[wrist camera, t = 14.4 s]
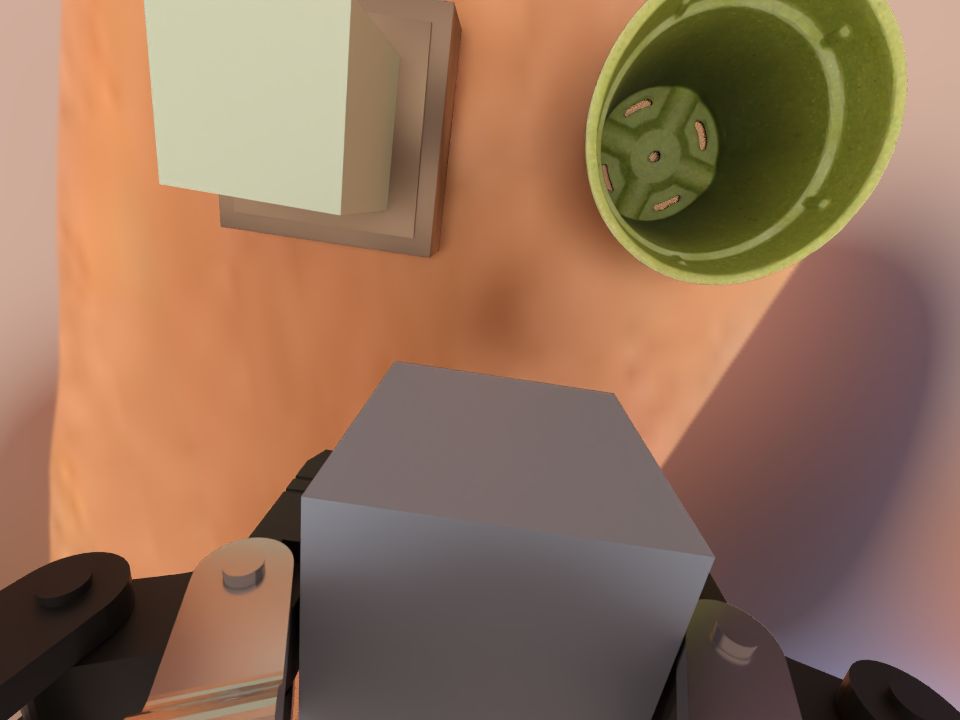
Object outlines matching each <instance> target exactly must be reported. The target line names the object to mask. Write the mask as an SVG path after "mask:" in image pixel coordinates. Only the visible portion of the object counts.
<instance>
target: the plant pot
mask: <svg viewBox="0 0 960 720" xmlns="http://www.w3.org/2000/svg"><path fill="white" fill-rule="evenodd" d="M907 82H908V81H907V72H906V56H905V49H904V44H903V39H902V34H901V31H900V28H899V25H898V22H897V20H896V17H895V14H894V12H893V10H892V9H891V7H890V5H889V3H888V1H887V0H647V1H646V2H645V3H644V4H643V5H642V6H641V7H640V9H639V10H638V11H637V12H636V13H635V15H634V16H633V17H632V19H631V20H630V21H629V22H628V24H627V25H626V27H625V28H624V30H623V31H622V33H621V34H620V36H619V37H618V39H617V40H616V42H615V44H614V46H613V47H612V49H611V51H610V53H609V55H608V57H607V59H606V61H605V63H604V65H603V67H602V70H601V72H600V74H599V77H598V80H597V82H596V85H595V88H594V91H593V95H592V98H591V102H590V106H589V110H588V116H587V122H586V131H585V162H586V170H587V176H588V182H589V186H590V190H591V194H592V196H593V199H594V202H595V205H596V207H597V209H598V211H599V214H600V216H601V217H602V219H603V221H604V223H605V224H606V226H607V227H608V229H609V230H610V232H611V233H612V235H613V236H614V237H615V238H616V240H617V241H618V242H619V243H620V244H621V245H622V246H623V247H624V248H625V249H626V250H627V251H628V252H629V253H630V254H631V255H632V256H634V257H635V258H636V259H637V260H639V261H640V262H641V263H643V264H644V265H646V266H647V267H649V268H651V269H653V270H655V271H657V272H659V273H661V274H663V275H665V276H668V277H671V278H673V279H676V280H680V281H683V282H688V283H695V284H703V285H728V284H737V283H743V282H748V281H752V280H756V279H759V278H762V277H765V276H767V275H770V274H773V273H776V272H778V271H781V270H783V269H785V268H787V267H789V266H791V265H793V264H795V263H797V262H799V261H800V260H802V259H804V258H805V257H807V256H808V255H810V254H811V253H813V252H814V251H816V250H817V249H819V248H820V247H822V246H823V245H824V244H825V243H827V242H828V241H829V240H830V239H832V238H833V237H834V236H835V235H836V234H837V233H839V232H840V231H841V230H842V229H843V228H844V227H845V225H846V224H847V223H848V222H849V221H850V220H851V218H852V217H853V216H854V215H855V214H856V213H857V212H858V211H859V209H860V208H861V207H862V205H863V204H864V203H865V202H866V200H867V199H868V198H869V197H870V195H871V193H872V192H873V190H874V189H875V187H876V186H877V184H878V182H879V180H880V179H881V177H882V175H883V173H884V171H885V169H886V167H887V165H888V163H889V161H890V159H891V156H892V154H893V152H894V149H895V146H896V143H897V140H898V137H899V134H900V130H901V127H902V121H903V117H904V112H905V106H906V96H907ZM645 99H648V100H651V101H652V105H651V106H648V107H646V108H643V109H640V110H638V111H636V112H634V113H632V114H631V115H629V116H628V117H625V116H624V115H625V112H626V109H628V108H629V107H631V106H632V105H634V104H636V103H638V102H640V101H641V100H645ZM697 120H698V121H701V123H702V124H703V125H704V127H705V130H706V136H707V147H706V148H705V150H703V151H702V150H701V149H700V145H699V137H698V133H697V130H696V129H695V125H694V124H695V122H696V121H697ZM654 151H659V152H660V154H661V156H660V159H659V160H658V161H656V162H652V161H650V159H649V156H650V154H651V153H652V152H654ZM603 164H606V165H607V167H608V174H609V178H610V181H611V183H612V187H613V188H614V190H613V191H610V190H608V189H607V187H606V184H605V180H604V176H603V171H602V165H603ZM676 195H679V196H680V199H679V201H678V202H677V203H674V204H673V205H670V206H669V207H668V208H666V209H664V210H659V211H655V210H654V209H653V207H654V205H655V204H659V203H662V202H665V201H667V200H669V199H671V198H674V197H675V196H676Z"/></svg>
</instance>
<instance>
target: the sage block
mask: <svg viewBox="0 0 960 720" xmlns="http://www.w3.org/2000/svg"><path fill="white" fill-rule="evenodd" d="M144 7H145V19H146V31H147V43H148V54H149V66H150V78H151V90H152V101H153V113H154V125H155V137H156V149H157V160H158V172H159V184H163V185H169V186H174V187H180V188H186V189H192V190H197V191H203V192H209V193H215V194H220V195H226V196H232V197H238V198H243V199H249V200H255V201H261V202H266V203H272V204H278V205H284V206H289V207H295V208H301V209H307V210H312V211H318V212H324V213H329V214H335V215H349V214H359V213H368V212H378V211H387V204H388V192H389V181H390V169H391V157H392V145H393V133H394V122H395V110H396V98H397V86H398V74H399V63H400V57H399V55H398V54H397V53H396V51H395V50H394V49H393V47H392V46H391V45H390V43H389V42H388V41H387V39H386V38H385V37H384V36H383V34H382V33H381V32H380V30H379V29H378V28H377V26H376V25H375V24H374V22H373V21H372V20H371V18H370V17H369V16H368V14H367V13H366V12H365V10H364V9H363V8H362V7H361V5H360V4H359V3H358V1H357V0H144Z"/></svg>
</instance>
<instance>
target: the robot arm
mask: <svg viewBox="0 0 960 720" xmlns="http://www.w3.org/2000/svg"><path fill="white" fill-rule="evenodd" d="M332 452H333V451H331V450H325V451H323V452H322V453H320V454H318V455H316V456H315V457H313V458H311V459H310V460H308V461H307V462H306V463H305V465H304V466H303V467H302V469H301V470H300V471H299V472H298V474H297V475H296V478H295V479H293V480H292V482H291V483H290V484H289V486H288V487H287V488H286V492H283V493H282V495H281V496H280V497H279V499H278V500H277V501H276V503H275V504H274V505H273V506H272V508H271V509H270V510H269V512H268V513H267V514H266V516H265V517H264V518H263V520H262V521H261V522H260V523H259V525H258V526H257V527H256V529H255V530H254V531H253V533H252V534H251V535H250V537H249V538H247V539H242V540H238V541H234V542H232V543H229V544H226V545H224V546H222V547H220V548H218V549H217V550H215V551H213V552H212V553H210V554H209V555H208V556H207V557H205V558H204V559H203V560H202V561H201V562H200V563H199V564H198V566H197V567H196V569H195V570H194V571H193V572H189V573H183V574H176V575H167V576H159V577H150V578H142V579H133V580H132V578H131V572H130V566H129V564H128V562H127V561H126V560H125V559H124V558H122V557H121V556H119V555H116V554H112V553H106V552H91V553H83V554H78V555H73V556H70V557H66V558H63V559H60V560H57V561H54V562H52V563H49V564H47V565H45V566H43V567H41V568H38V569H37V570H35V571H33V572H31V573H29V574H28V575H26V576H24V577H22V578H21V579H19V580H17V581H16V582H14V583H12V584H11V585H9V586H7V587H6V588H4V589H2V590H1V591H0V720H8V719H9V718H10V717H12V716H13V715H14V714H15V713H16V712H18V711H19V710H21V713H22V716H21V717H20V718H19V719H18V720H293V705H294V691H295V677H296V675H297V673H298V670H299V648H300V558H301V496H302V495H303V493H304V492H305V490H306V489H307V488H308V486H309V485H310V483H311V482H312V480H313V479H314V477H315V476H316V475H317V473H318V472H319V470H320V469H321V467H322V466H323V464H324V463H325V462H326V460H327V459H328V457H329V456H330V454H331V453H332ZM296 720H299V712H298V715H297V717H296ZM651 720H960V712H959V711H957V710H956V709H955V708H954V707H953V706H952V705H951V704H950V703H948V702H947V701H946V700H945V699H944V698H943V697H941V696H940V695H939V694H938V693H936V692H935V691H934V690H932V689H931V688H930V687H928V686H927V685H925V684H924V683H922V682H921V681H919V680H918V679H916V678H915V677H913V676H911V675H909V674H907V673H905V672H903V671H902V670H900V669H898V668H895V667H893V666H890V665H888V664H885V663H881V662H878V661H872V660H860V661H856V662H855V663H853V664H852V665H851V667H850V669H849V670H848V672H847V674H846V676H845V678H844V679H843V680H842V679H840V678H837V677H835V676H832V675H830V674H827V673H825V672H822V671H820V670H817V669H815V668H812V667H810V666H807V665H805V664H802V663H800V662H797V661H795V660H792V659H790V658H788V657H786V656H785V655H784V653H783V651H782V649H781V647H780V645H779V643H778V642H777V641H776V639H775V638H774V637H773V635H772V634H771V633H770V632H769V631H768V630H767V629H766V628H765V627H764V626H763V625H762V624H761V623H760V622H758V621H757V620H756V619H754V618H753V617H752V616H750V615H749V614H747V613H746V612H744V611H742V610H740V609H739V608H737V607H735V606H732V605H730V604H727V602H726V601H725V599H724V597H723V595H722V594H721V592H720V590H719V588H718V587H717V585H716V583H715V581H714V580H713V578H712V576H711V574H710V573H709V574H708V577H707V579H706V582H705V584H704V587H703V589H702V592H701V594H700V597H699V599H698V602H697V604H696V607H695V610H694V612H693V615H692V617H691V620H690V622H689V625H688V627H687V630H686V632H685V635H684V637H683V640H682V642H681V645H680V648H679V650H678V653H677V655H676V658H675V660H674V663H673V665H672V668H671V670H670V673H669V675H668V678H667V681H666V683H665V686H664V688H663V691H662V693H661V696H660V698H659V701H658V703H657V706H656V708H655V711H654V714H653V716H652V719H651Z"/></svg>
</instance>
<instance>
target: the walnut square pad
mask: <svg viewBox="0 0 960 720" xmlns="http://www.w3.org/2000/svg"><path fill="white" fill-rule="evenodd" d="M357 1H358V3H359V4H360V5H361V7H362V8H363V9H364V10H365V12H366V13H367V14H368V16H369V17H370V18H371V20H372V21H373V22H374V24H375V25H376V26H377V28H378V29H379V30H380V32H381V33H382V34H383V36H384V37H385V38H386V39H387V41H388V42H389V43H390V45H391V46H392V47H393V49H394V50H395V51H396V53H397V54H398V55H399V57H400V63H399V74H398V86H397V98H396V110H395V122H394V133H393V145H392V157H391V169H390V181H389V192H388V204H387V211H378V212H368V213H359V214H349V215H335V214H329V213H324V212H318V211H312V210H307V209H301V208H295V207H289V206H284V205H278V204H272V203H266V202H261V201H255V200H249V199H243V198H238V197H232V196H226V195H220V194H219V206H220V222H221V227H226V228H233V229H240V230H246V231H253V232H260V233H266V234H273V235H280V236H286V237H293V238H300V239H307V240H313V241H320V242H327V243H333V244H340V245H347V246H353V247H360V248H367V249H373V250H380V251H387V252H394V253H400V254H407V255H414V256H420V257H427V258H430V257H431V256H432V255H434V254H435V253H436V252H438V251H439V241H440V231H441V222H442V212H443V202H444V193H445V183H446V173H447V164H448V154H449V145H450V135H451V125H452V116H453V106H454V96H455V87H456V77H457V67H458V58H459V48H460V39H461V26H460V22H459V19H458V15H457V11H456V7H455V4H454V2H449V1H442V0H357Z"/></svg>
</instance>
